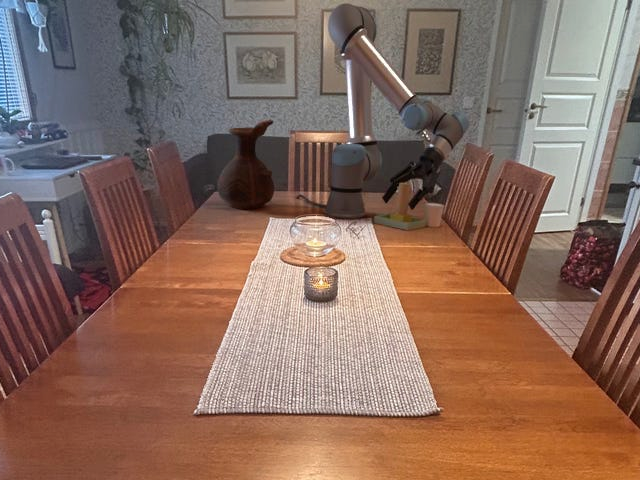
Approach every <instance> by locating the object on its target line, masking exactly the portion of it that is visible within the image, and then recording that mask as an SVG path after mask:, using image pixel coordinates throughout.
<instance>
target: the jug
mask: <svg viewBox="0 0 640 480" xmlns="http://www.w3.org/2000/svg"><path fill="white" fill-rule="evenodd" d="M273 124H274V120H272V119H267V120H262V121H260V122H258V123H256V124H255V125H254V126H252V127H251V126H250V127H249V126H248V127H232V128H229V129H228V133H229V134H230V135H232V136H234V137H235V143H236V144H235V146H236V148H235V155H234V157H233V158H232V159H231V160H230V161H229V162H228V163H227V165H226V166H225V167H224V168H223V170H221V171H222V172H221V173H220V175H219V178H218V180H217V184H216V187H217V192H218V195H219V197H220V199H221V200H223V202H224V203H225V204H226V205H227V206H228V207H229V208H232V209H234V208H235V209H241V210H254V209H258V208H261V207H263V206H264V205H266V204H268V203H270V202H271V201H272V199H273V197H274V194H275V190H276V189H275V183H274V179H273V178H272V174H273V171H272V170H269V169H268V167H267V165H266V164H265V163H264V162H263V161H262V160H261V159H259V158H258V156H257V153H256V144H257V141H258V138H260V137H263V136H264V135H265V134H266V131H267V130H268V128H269V127H270V126H272V125H273Z"/></svg>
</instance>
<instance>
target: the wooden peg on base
mask: <svg viewBox="0 0 640 480" xmlns="http://www.w3.org/2000/svg"><path fill="white" fill-rule="evenodd" d="M411 185H412V184H411V183H410V182H405V183H399V186H398V190H397V198H396V209H395V212H390V213H389V214H390V219H392V220H397V221H402V222H406V223H410V222H412V217H413V214H411V213H408V209H409V205H408V203H409V202H410V193H411V187H412V186H411Z"/></svg>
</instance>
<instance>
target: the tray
mask: <svg viewBox="0 0 640 480" xmlns="http://www.w3.org/2000/svg"><path fill="white" fill-rule="evenodd" d="M373 223H374V224H378V225H382V226H386V227H391V228H395V229H400V230H403V231H411V230H417V229H423V228H426V227H427V226H426V220H424V218H419V217H414V216H412V222H410V223H406V222H402V221H397V220H392V219H390V213H386V214H385V213H384V214H379V215H378V214H377V215H374V217H373Z"/></svg>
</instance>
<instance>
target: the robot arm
mask: <svg viewBox="0 0 640 480" xmlns="http://www.w3.org/2000/svg"><path fill="white" fill-rule="evenodd" d="M327 31H328V35H329V38H330V39H331V40H332V42H333V44H335V46H336V47H337V48H338V49H339V56H340V58H341V59H342V60H343V61H344V69H345V85H346V103H347V116H348V117H347V119H348V120H347V121H348V139H347V141H346V142H345V144H339V145H336V146H335V147H334V148H333V150H332V156H331V172H330V173H331V174H330V191H329V195H328V198H327V202H326V204H322V203H319V202H318V203H317V202H314V201H311V200H310V199H309V198H307V197H306V196H305V195H303V194H301V193H300V194H298V195H297V196H296V199H299V198H301V199H303V200H304V201H306V202H307V203H308V204H309V205H312V206H315V207H319V208H324V209H323V210H324V211H323V214H324V216H326V217H328V216H329V218H334V219H341V220H342V219H343V220H355V219H356V220H357V219H358V220H359V219H363V218H365V217H366V208H365V207H366V204H365V202H364V198H363V187H364V186H363V185H364V182H368V181H370V180H371V179H373V178H374V177H376V176H377V175H378V174H379V172H380V170H381V169H382V165H383V158H382V157H383V156H382V154H381V152H380V151H379V149H378V139H377V138H376V137H375V136H374V135H373V134H374V133H373V115H372V89H371V83H372V84H373V85H374V87H376V88H377V90H378V91H379V92H380V93H381V94H382V96H383V97H384V98H385V99H386V101H388V103H389V104H390V105H391V106H392V107H393V109H394V110H395V111H396V112H397V113H398V115H399V116H400V117H401V119H402V123H403V126H404V127H405V128H406V129H408V130H411V131H420V130H427V132H429V133H431V134H433V135H434V137H433V138H432V139H431V140H430V142H429V143H428V144H427V146H426V148H425V149H424V150H423V151H422V153H421V154H420V155H419V160H418V162H416V163H415V162H414V160H411V161H410V162H409V163H408V164H407V165H406V166H405V167H403V168H402V169H400V171H399V172H397V173H395V175H393V176H392V177H391V178H389V182H390V183H391V184H390V186H389V187H388V188H387V189H386V192H385V193H383V195H382V196H381V199H382V200H383V202H384V203H385V204H388V203H389V202H390V200H391V199H392V197H393V196H394V195H395V193H396V192H398V189H399V183H408V182H409V181H411V180H415V179H422V182H421V188H419V189H418V190H417V191H416V193H414V195H413V196H412V197H411V199H409V203H408V208H409V209H410V210H411V211H413V210H414V209H415V208H416V207H417V205H418V204H419V203H420V202H421V201H422V200H423V199H424V198H425V196H426V195H428V194H430V195H431V194H433V193H434V191H435V188H436V185H437V181H438V178H439V176H440V174H441V173H442V170H441V168H440V167H441V165H442V164H443V162H444V161H445V160H446V159H447V157H448V156H449V155H450V153H451V152H452V151H453V149H455V147H456V145H457V144H459V142H460V141H461V140H462V138H464V135H465V134H466V132H467V131H468V130H469V128H470V120H469V118H468V116H467V115H466V114H465V113H463V112H462V111H458V110H456V111H454V112H452V113H451V114H450V113H447V112H446V111H444V110H443V109H442V108H440V107H439V106H438V105H436V104H435V103H433V102H432V101H431V100H428V99H427V98H426V97H420V98H419V96H417V94H416V93H415V92H414V91H413V89H412V88H411V87H410V85H408V82H406V81H405V79H403V78H402V76H401V75H400V74H399V72H398V71H397V70H396V69H395V67H394V66H393V65H392V64H391V63H390V61H389V60H388V59H387V58H386V57H385V56H384V54H383V53H382V52H381V51H380V50H379V48H378V47H377V46H376V45H375V44H374V42H375V40H376V38H377V34H378V26H377V21H376V18H375V16H374V15H373V13H372V12H371V11H370V10H368V9H367V8H365V7H364V6H360V5H359V6H358V5H354V4H352V3H341V4H338V5H337V6H335V7H334V9H333V10H332V11H331V13H330V14H329V17H328V21H327Z"/></svg>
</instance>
